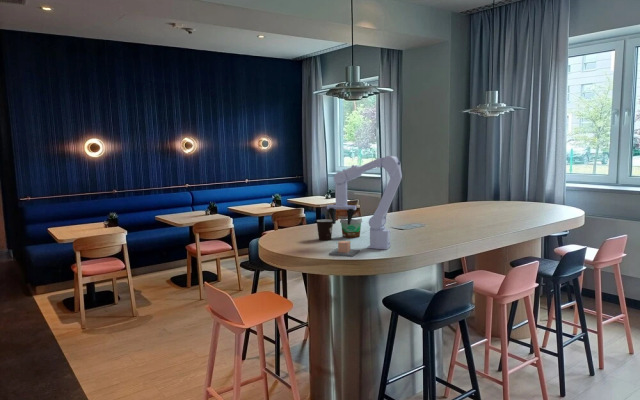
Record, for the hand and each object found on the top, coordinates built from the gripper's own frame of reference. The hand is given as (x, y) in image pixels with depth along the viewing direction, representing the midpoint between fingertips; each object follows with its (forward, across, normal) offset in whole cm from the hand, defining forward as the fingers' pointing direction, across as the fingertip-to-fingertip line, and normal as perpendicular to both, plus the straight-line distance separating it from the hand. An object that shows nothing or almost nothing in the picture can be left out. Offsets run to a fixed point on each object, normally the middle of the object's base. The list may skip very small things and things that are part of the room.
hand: (341, 224), depth 229 cm
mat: (+10, +7, -17) cm, 21 cm away
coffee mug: (+11, -12, +12) cm, 20 cm away
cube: (+10, +7, -17) cm, 21 cm away
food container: (+11, -1, +21) cm, 24 cm away
